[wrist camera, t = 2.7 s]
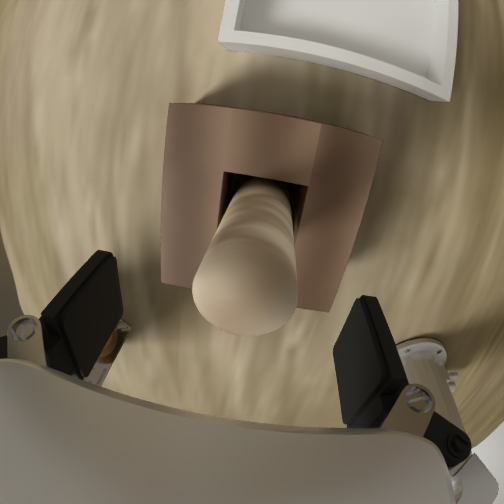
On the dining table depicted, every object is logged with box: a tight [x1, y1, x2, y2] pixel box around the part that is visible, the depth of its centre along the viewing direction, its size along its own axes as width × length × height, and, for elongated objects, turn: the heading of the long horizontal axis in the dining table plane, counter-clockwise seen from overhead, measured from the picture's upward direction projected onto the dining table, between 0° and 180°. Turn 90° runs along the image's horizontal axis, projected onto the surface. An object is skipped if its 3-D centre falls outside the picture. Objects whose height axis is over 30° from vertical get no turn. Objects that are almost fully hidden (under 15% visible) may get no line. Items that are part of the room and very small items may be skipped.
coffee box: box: [83, 319, 132, 387], centre depth 28 cm, size 9×6×16 cm
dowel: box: [192, 175, 298, 336], centre depth 19 cm, size 4×4×15 cm
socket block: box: [161, 103, 383, 312], centre depth 22 cm, size 14×14×6 cm
